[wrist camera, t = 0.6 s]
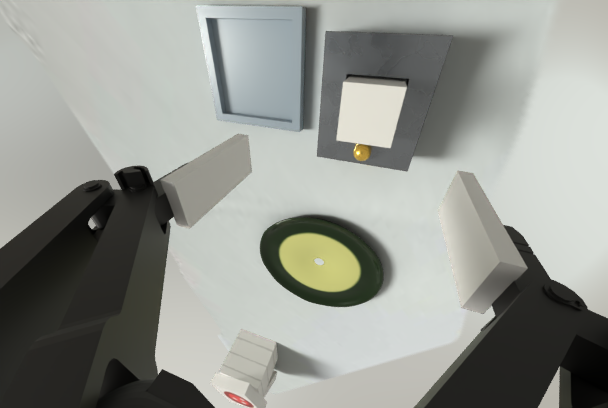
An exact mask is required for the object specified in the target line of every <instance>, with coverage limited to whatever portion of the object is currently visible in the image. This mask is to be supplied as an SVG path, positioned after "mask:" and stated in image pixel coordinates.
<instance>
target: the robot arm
mask: <svg viewBox="0 0 608 408" xmlns="http://www.w3.org/2000/svg"><path fill="white" fill-rule="evenodd" d="M251 172H252V168H251V158H250V149H249V139H248V135H242V134H237V135H235V136H233V137H232V138H230V139H228V140H227V141H225V142H223V143H222V144H220V145H218V146H216V147H215V148H213V149H211V150H210V151H208V152H206V153H205V154H203V155H201V156H200V157H198V158H196V159H194V160H193V161H191V162H189V163H187V164H184V165H182V166H181V167H179V168H178V169H175V170H174V171H172V173H171V172H170V173H169V174H167V175H165V176H163V177H162V178H160V179H158V180H157V181H155V182H153V180H152V178H151V175H150V173H149V170H148V168H147V167H145V166H131V167H126V168H123V169H121V170H119V171H117V172H116V173H115V174H114V175H115V177H116V179H117V181H118V183H119V185H120V187H121V189H122V190H113V189H112V187H111V185H110V183H109V182H108V181H105V180H93V181H89V182H86V183H85V184H82V185H80V186H78V187H77V188H76V189H74V190H73V191H72V192H71V193H69V194H68V195H67V196H66V197H64V198H63V199H62V200H61V201H59V202H58V203H57V204H56V205H54V206H53V207H52V208H51V209H49V210H48V211H47V212H46V213H44V214H43V215H42V216H41V217H39V218H38V219H37V220H36V221H34V222H33V223H32V224H31V225H29V226H28V227H27V228H26V229H24V230H23V231H22V232H21V233H19V234H18V235H17V236H16V237H14V238H13V239H12V240H11V241H9V242H8V243H7V244H6V245H5V246H3V247H2V248H1V249H0V408H215V407H214V406H213V405H212V404H211V403H210V402H209V401H208V400H207V399H206V398H205V397H204V395H203V394H202V393H201V392H200V391H198V389H197V388H196V387H195V386H194V385H193V384H192V383H190V382H188V381H186V380H184V379H182V378H180V377H178V376H175V375H173V374H171V373H169V372H167V371H165V370H163V369H162V370H161V372H160V373H159V375H158V373H157V366H156V362H155V346H156V339H157V331H158V323H159V315H160V306H161V299H162V291H163V283H164V275H165V267H166V258H167V251H168V243H169V235H170V227H171V226H170V223H169V220H170V219H171V218H173V217H174V218H175V221H176V223H177V225H178V226H181V227H185V228H188V229H190V228H191V227H192V226H193V225H194V224H195V223H196V222H198V221H199V220H200V219H201V218H202V217H203V216H204V215H205V214H206V213H207V212H209V211H210V210H211V209H212V208H213V207H214V206H215V205H216V204H217V203H218V202H219V201H221V200H222V199H223V198H224V197H225V196H226V195H227V194H228V193H229V192H230V191H232V190H233V189H234V188H235V187H236V186H237V185H238V184H239V183H240V182H241V181H243V180H244V179H245V178H246V177H247V176H248V175H249V174H250V173H251ZM438 214H439V218H440V222H441V226H442V230H443V234H444V239H445V243H446V247H447V251H448V255H449V259H450V263H451V267H452V271H453V276H454V280H455V284H456V288H457V292H458V296H459V300H460V304H461V308H464V309H467V310H471V311H475V312H478V313H481V314H484V313H485V312H486V311H487V310H488V309H489V308H490V307H491V306H492V307H493V310H494V312H495V315H496V316H495V317H494V318H493V319H492V320H491V321H490V322H489V323H487V324H486V326H484V327H483V328H482V329H481V332H480V333H479V334H478V335H477V337H476V338H475V339H474V340H473V341H472V342H471V343H470V345H469V346H468V347H467V348H466V349H465V350H464V351H463V352H462V354H461V355H460V356H459V357H458V358H457V359H456V360H455V362H454V363H453V364H452V365H451V366H450V367H449V368H448V369H447V371H446V372H445V373H444V374H443V375H442V376H441V377H440V379H439V380H438V381H437V382H436V383H435V384H434V385H433V387H432V388H431V389H430V390H429V391H428V392H427V393H426V395H425V396H424V397H423V398H422V399H421V400H420V401H419V402H418V404H417V405H416V406H415V407H414V408H538V406H539V404H540V402H541V400H542V398H543V397H544V394H545V393H546V391H547V389H548V387H549V385H550V383H551V381H552V379H553V377H554V376H555V374H556V372H557V370H558V368H559V366H560V387H559V388H560V390H559V391H560V392H559V408H608V318H606V317H603V316H601V315H599V314H596V313H594V312H592V311H590V310H588V309H587V306H586V305H585V303H584V301H583V300H582V299H581V298H580V297H579V296H578V295H577V294H576V293H575V292H574V291H572V290H571V289H569V288H568V287H566V286H564V285H563V284H560V283H558V282H556V281H554V280H551V279H550V277H549V276H548V274H547V273H546V271H545V269H544V268H543V266H542V265H541V263H540V262H539V260H538V259H537V257H536V256H535V255H534V254H533V251H532V249H531V248H530V247H528V246H529V245H528V243H527V242H526V240H525V239H524V237H523V236H522V235H521V234H520V233H519V232H517V231H516V230H515V229H514V228H513V227H510V226H505V225H503V224H502V223H501V221H500V219H499V217H498V216H497V214H496V212H495V210H494V209H493V207H492V205H491V203H490V202H489V200H488V198H487V197H486V195H485V193H484V191H483V190H482V188H481V186H480V184H479V183H478V181H477V179H476V178H475V176H474V174H473V173H469V172H463V171H457V172H456V174H455V176H454V178H453V180H452V182H451V185H450V187H449V189H448V191H447V193H446V195H445V197H444V199H443V201H442V203H441V205H440V207H439V209H438ZM90 218H91V219H92V220H93V222H94V223H95V225H96V226H95V227H94V228H93V229H91V228H90V227H89V225H88V221H89V220H90Z"/></svg>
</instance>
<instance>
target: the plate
mask: <svg viewBox="0 0 608 408" xmlns="http://www.w3.org/2000/svg"><path fill="white" fill-rule="evenodd" d="M260 254H261V258H262V261H263V263H264V265H265V266H266V268H267V269H268V271H269V272H270V274H271V275H272V276H273V277H274V279H275V280H276V281H277V282H278V283H279V284H281V285H282V286H283V287H284V288H286V289H287V290H289V291H290V292H292V293H293V294H295V295H297V296H298V297H300V298H302V299H304V300H306V301H308V302H311V303H315V304H320V305H325V306H332V307H349V306H355V305H359V304H362V303H364V302H367V301H369V300H370V299H372V298H373V297H374V296H375V295H376V294H377V293H378V292H379V290H380V289H381V286H382V283H383V269H382V265H381V263H380V260H379V259H378V257H377V255H376V254H375V253H374V251H373V250H372V249H371V248H370V247H369V246H368V245H367V244H366V243H365V242H364V241H363V240H362V239H361V238H359V237H358V236H357V235H355V234H354V233H353V232H351V231H349V230H347V229H346V228H344V227H341V226H339V225H337V224H334V223H331V222H328V221H325V220H321V219H315V218H305V217H298V218H289V219H285V220H282V221H280V222H277V223H275V224H274V225H272V226H271V227H269V228H268V229H267V230H266V231H265V232H264V234H263V236H262V238H261V242H260ZM316 258H320V259H322V260H323V261H324V264H323V265H317V264H316V263H315V262H314V259H316Z"/></svg>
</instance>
